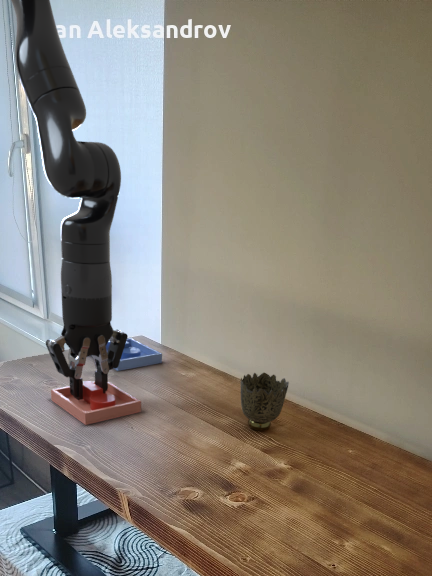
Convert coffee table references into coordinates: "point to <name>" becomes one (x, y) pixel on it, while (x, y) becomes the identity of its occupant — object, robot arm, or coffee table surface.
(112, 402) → the red stepped block
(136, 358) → the blue tray
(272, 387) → the cup
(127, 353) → the blue rounded block
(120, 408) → the red tray
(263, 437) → the coffee table surface
